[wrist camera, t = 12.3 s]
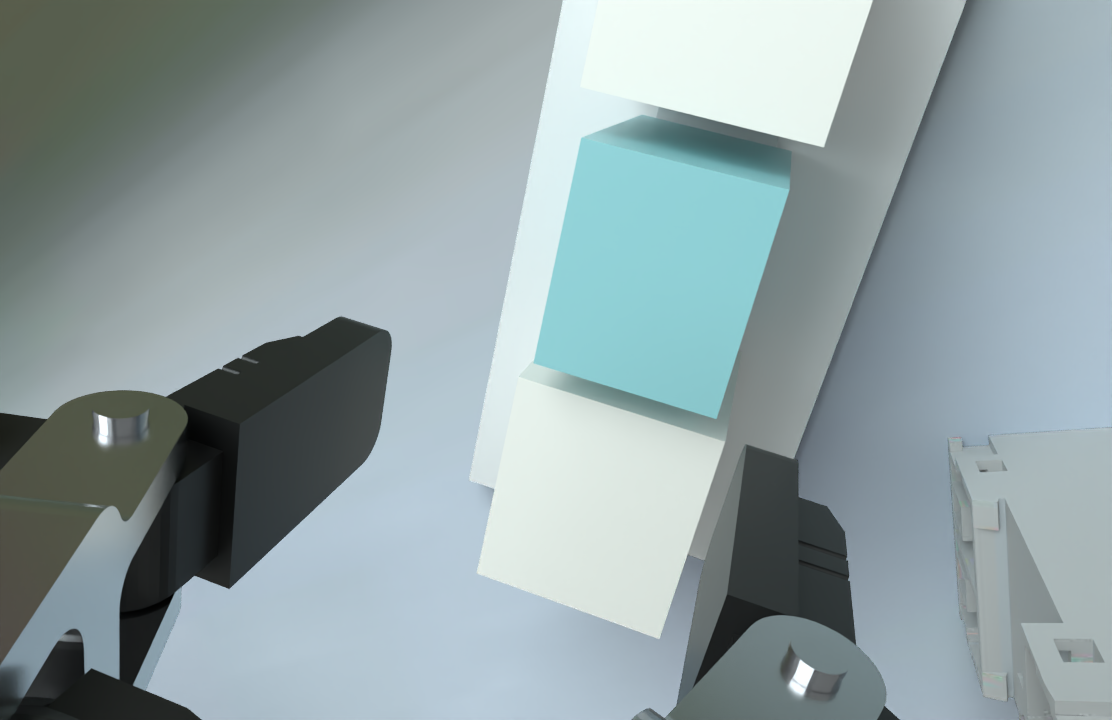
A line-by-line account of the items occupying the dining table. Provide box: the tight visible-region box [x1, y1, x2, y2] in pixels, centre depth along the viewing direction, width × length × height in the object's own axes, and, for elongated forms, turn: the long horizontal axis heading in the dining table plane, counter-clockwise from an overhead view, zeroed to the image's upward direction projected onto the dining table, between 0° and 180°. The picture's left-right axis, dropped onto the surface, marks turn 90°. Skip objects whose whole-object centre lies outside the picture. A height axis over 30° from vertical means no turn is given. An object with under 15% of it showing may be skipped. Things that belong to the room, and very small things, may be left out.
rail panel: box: [469, 0, 966, 639], centre depth 25 cm, size 26×12×9 cm, turn 168°
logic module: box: [534, 115, 792, 419], centre depth 24 cm, size 6×5×8 cm
